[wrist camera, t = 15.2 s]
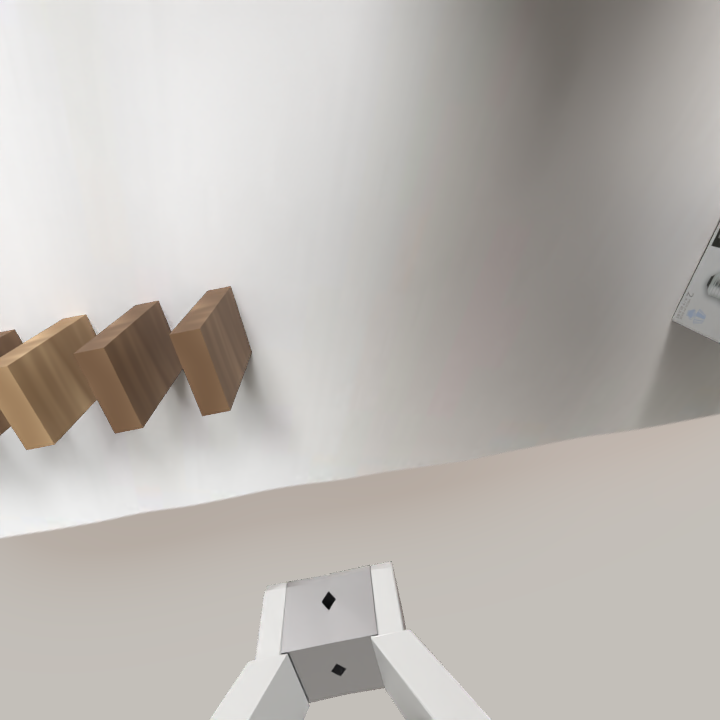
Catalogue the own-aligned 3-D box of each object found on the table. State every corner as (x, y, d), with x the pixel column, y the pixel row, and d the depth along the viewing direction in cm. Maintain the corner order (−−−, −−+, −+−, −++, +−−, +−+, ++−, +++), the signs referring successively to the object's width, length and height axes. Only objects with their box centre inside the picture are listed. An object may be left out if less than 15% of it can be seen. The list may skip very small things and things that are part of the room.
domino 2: (158, 300, 29) (103, 347, 22) (184, 365, 31) (142, 427, 24) (135, 305, 29) (72, 353, 22) (163, 369, 31) (114, 433, 24)
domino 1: (85, 314, 29) (7, 366, 22) (116, 378, 31) (54, 444, 24) (62, 318, 29) (-24, 371, 22) (95, 382, 31) (26, 450, 24)
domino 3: (230, 286, 29) (199, 328, 22) (251, 352, 31) (230, 410, 24) (207, 290, 29) (169, 334, 22) (230, 356, 31) (202, 416, 24)
